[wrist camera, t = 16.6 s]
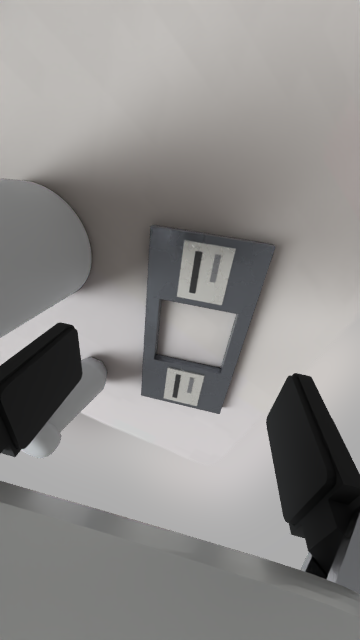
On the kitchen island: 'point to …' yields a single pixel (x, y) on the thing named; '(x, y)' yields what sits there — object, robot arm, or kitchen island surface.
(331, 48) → the kitchen island surface
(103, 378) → the salt shaker
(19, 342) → the kitchen island surface
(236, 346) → the label board
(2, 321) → the cylinder vase
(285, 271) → the kitchen island surface
